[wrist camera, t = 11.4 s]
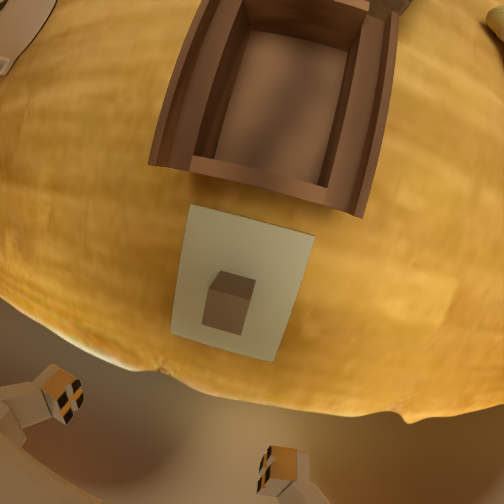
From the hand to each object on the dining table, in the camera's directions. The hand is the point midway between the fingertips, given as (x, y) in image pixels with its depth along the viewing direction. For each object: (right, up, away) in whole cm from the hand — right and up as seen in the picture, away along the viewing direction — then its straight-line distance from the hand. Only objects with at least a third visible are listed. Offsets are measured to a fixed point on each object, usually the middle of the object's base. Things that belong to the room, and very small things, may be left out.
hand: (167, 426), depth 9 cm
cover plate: (+2, +4, +15) cm, 16 cm away
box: (+6, +19, +10) cm, 22 cm away
